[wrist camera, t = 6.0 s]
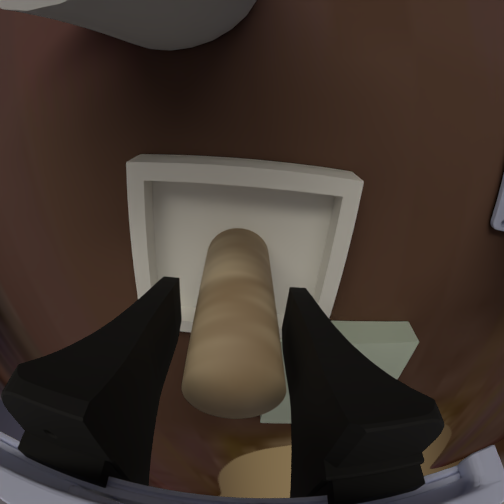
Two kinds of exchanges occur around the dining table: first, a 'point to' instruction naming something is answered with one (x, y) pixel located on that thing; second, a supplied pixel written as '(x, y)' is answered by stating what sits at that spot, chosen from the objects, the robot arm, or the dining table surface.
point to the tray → (240, 221)
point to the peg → (235, 332)
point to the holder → (364, 353)
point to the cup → (144, 18)
